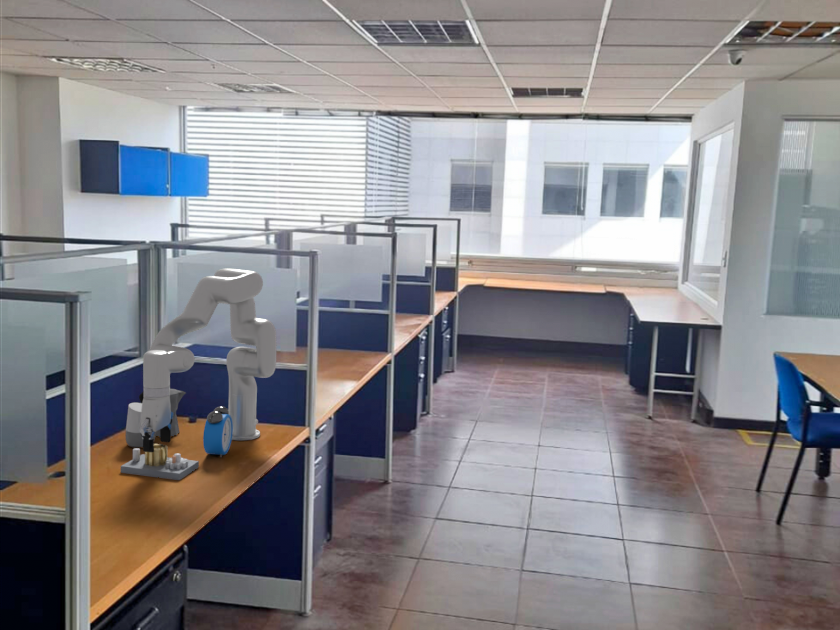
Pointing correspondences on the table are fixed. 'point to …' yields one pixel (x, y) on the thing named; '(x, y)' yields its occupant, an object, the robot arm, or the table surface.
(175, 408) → the coffeepot
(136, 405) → the smart speaker
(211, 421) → the alarm clock
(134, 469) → the gear board
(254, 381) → the robot arm
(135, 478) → the table surface
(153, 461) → the brass gear
